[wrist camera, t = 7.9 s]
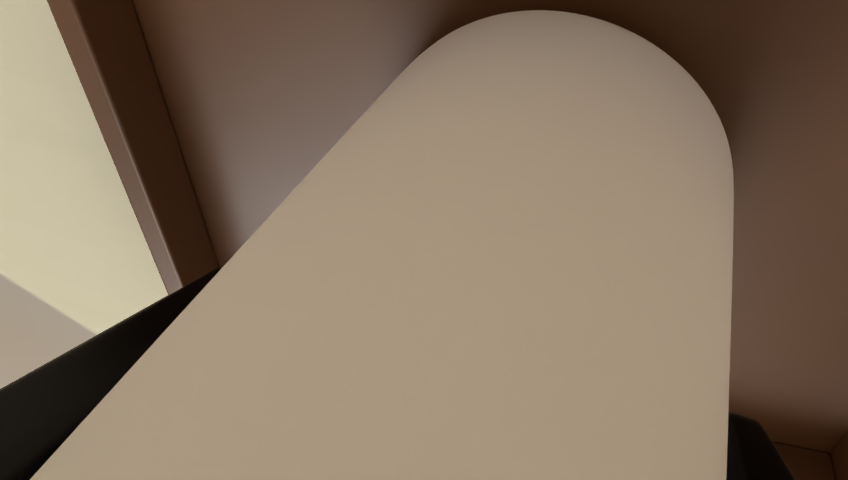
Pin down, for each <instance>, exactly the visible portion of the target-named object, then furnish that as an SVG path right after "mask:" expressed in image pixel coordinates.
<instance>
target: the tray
mask: <svg viewBox="0 0 848 480" xmlns="http://www.w3.org/2000/svg"><path fill="white" fill-rule="evenodd" d="M47 2H48V4H49V7H50V9H51V11H52V14H53V16H54V19H55V21H56V23H57V26H58V28H59V31H60V33H61V36H62V38H63V40H64V43H65V45H66V48H67V50H68V53H69V55H70V57H71V60H72V62H73V65H74V67H75V69H76V72H77V74H78V77H79V79H80V82H81V84H82V86H83V89H84V91H85V94H86V96H87V99H88V101H89V103H90V106H91V108H92V111H93V113H94V115H95V118H96V120H97V123H98V125H99V128H100V130H101V132H102V135H103V137H104V140H105V142H106V145H107V147H108V149H109V152H110V154H111V157H112V159H113V161H114V164H115V166H116V169H117V171H118V174H119V176H120V178H121V181H122V183H123V186H124V188H125V191H126V193H127V195H128V198H129V200H130V203H131V205H132V208H133V210H134V212H135V215H136V217H137V220H138V222H139V224H140V227H141V229H142V232H143V234H144V237H145V239H146V241H147V244H148V246H149V249H150V251H151V254H152V256H153V258H154V261H155V263H156V266H157V268H158V270H159V273H160V275H161V278H162V280H163V283H164V285H165V287H166V290H167V292H168V295H170V294H171V293H173V292H175V291H177V290H179V289H180V288H182V287H184V286H186V285H188V284H189V283H191V282H193V281H195V280H196V279H198V278H200V277H202V276H204V275H205V274H207V273H209V272H211V271H213V270H214V269H216V268H219V267H223V266H224V265H225V264H226V263H227V262H228V261H229V260H230V259H231V258H232V256H233V255H234V254H235V253H236V252H237V251H238V250H239V249H240V248H241V247H242V245H243V244H244V243H245V242H246V241H247V240H248V239H249V238H250V237H251V236H252V234H253V233H254V232H255V231H256V230H257V229H258V228H259V227H260V226H261V225H262V224H263V222H264V221H265V220H266V219H267V218H268V217H269V216H270V215H271V214H272V213H273V211H274V210H275V209H276V208H277V207H278V206H279V205H280V204H281V203H282V202H283V201H284V199H285V198H286V197H287V196H288V195H289V194H290V193H291V192H292V191H293V190H294V189H295V187H296V186H297V185H298V184H299V183H300V182H301V181H302V180H303V179H304V178H305V177H306V175H307V174H308V173H309V172H310V171H311V170H312V169H313V168H314V167H315V166H316V165H317V163H318V162H319V161H320V160H321V159H322V158H323V157H324V156H325V155H326V154H327V153H328V151H329V150H330V149H331V148H332V147H333V146H334V145H335V144H336V143H337V142H338V141H339V139H340V138H341V137H342V136H343V135H344V134H345V133H346V132H347V131H348V130H349V129H350V128H351V126H352V125H353V124H354V123H355V122H356V121H357V120H358V119H359V118H360V117H361V116H362V115H363V113H364V112H365V111H366V110H367V109H368V108H369V107H370V106H371V105H372V104H373V103H374V102H375V100H376V99H377V98H378V97H379V96H380V95H381V94H382V93H383V92H384V91H385V90H386V89H387V88H388V87H389V86H390V84H391V83H392V82H393V81H394V80H395V79H396V78H397V77H398V76H399V75H400V74H401V73H402V72H403V71H404V70H405V69H406V68H407V67H408V66H409V65H410V64H411V63H412V62H413V61H414V60H415V59H416V58H417V57H418V56H419V55H420V54H422V53H423V52H424V51H425V50H426V49H428V48H429V47H430V46H432V45H433V44H434V43H436V42H437V41H438V40H440V39H441V38H443V37H444V36H446V35H448V34H449V33H451V32H453V31H455V30H456V29H458V28H460V27H462V26H465V25H467V24H469V23H472V22H474V21H477V20H480V19H483V18H486V17H490V16H494V15H498V14H503V13H509V12H517V11H529V10H549V11H562V12H569V13H575V14H580V15H585V16H589V17H593V18H597V19H600V20H603V21H606V22H609V23H612V24H615V25H617V26H620V27H622V28H624V29H626V30H629V31H631V32H633V33H635V34H637V35H639V36H640V37H642V38H644V39H646V40H647V41H649V42H651V43H652V44H654V45H655V46H657V47H658V48H660V49H661V50H662V51H664V52H665V53H666V54H668V55H669V56H670V57H672V58H673V59H674V60H675V61H676V62H677V63H678V64H680V65H681V66H682V67H683V68H684V69H685V70H686V71H687V72H688V73H689V74H690V75H691V76H692V78H693V79H694V80H695V81H696V82H697V83H698V85H699V86H700V87H701V88H702V90H703V91H704V93H705V94H706V95H707V97H708V98H709V100H710V102H711V103H712V105H713V107H714V108H715V110H716V112H717V114H718V116H719V118H720V120H721V123H722V125H723V128H724V130H725V133H726V136H727V139H728V143H729V147H730V152H731V158H732V166H733V178H734V219H733V268H732V308H731V343H730V377H729V411H730V412H733V413H737V414H740V415H744V416H747V417H751V418H753V419H755V420H757V421H758V422H759V423H760V424H761V426H762V427H763V429H764V430H765V432H766V433H767V435H768V437H769V438H770V440H771V441H772V443H773V445H774V446H775V448H776V449H777V451H778V453H779V454H780V456H781V457H782V459H783V461H784V462H785V464H786V465H787V467H788V469H789V470H790V472H791V473H792V475H793V477H794V478H795V480H848V0H47Z"/></svg>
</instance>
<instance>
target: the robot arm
mask: <svg viewBox="0 0 848 480" xmlns="http://www.w3.org/2000/svg"><path fill="white" fill-rule="evenodd" d="M221 268H222V267H219V268H216V269H214V270H213V271H211V272H209V273H207V274H205V275H204V276H202V277H200V278H198V279H196V280H195V281H193V282H191V283H189V284H188V285H186V286H184V287H182V288H180V289H179V290H177V291H175V292H173V293H171V294H170V295H168V296H166V297H164V298H162V299H161V300H159V301H157V302H155V303H154V304H152V305H150V306H148V307H146V308H145V309H143V310H141V311H139V312H137V313H136V314H134V315H132V316H130V317H128V318H127V319H125V320H123V321H121V322H120V323H118V324H116V325H114V326H112V327H111V328H109V329H107V330H105V331H103V332H102V333H100V334H98V335H96V336H94V337H93V338H91V339H89V340H87V341H86V342H84V343H82V344H80V345H78V346H77V347H75V348H73V349H71V350H70V351H68V352H66V353H64V354H63V355H61V356H59V357H57V358H55V359H53V360H52V361H50V362H48V363H46V364H44V365H43V366H41V367H39V368H37V369H35V370H34V371H32V372H30V373H28V374H27V375H25V376H23V377H21V378H19V379H18V380H16V381H14V382H12V383H10V384H9V385H7V386H5V387H3V388H1V389H0V480H30V479H31V478H32V477H33V476H34V474H35V473H36V472H37V471H38V470H39V469H40V468H41V467H42V466H43V464H44V463H45V462H46V461H47V460H48V459H49V458H50V457H51V456H52V455H53V453H54V452H55V451H56V450H57V449H58V448H59V447H60V446H61V445H62V443H63V442H64V441H65V440H66V439H67V438H68V437H69V436H70V435H71V434H72V432H73V431H74V430H75V429H76V428H77V427H78V426H79V425H80V424H81V423H82V421H83V420H84V419H85V418H86V417H87V416H88V415H89V414H90V413H91V412H92V410H93V409H94V408H95V407H96V406H97V405H98V404H99V403H100V402H101V400H102V399H103V398H104V397H105V396H106V395H107V394H108V393H109V392H110V391H111V389H112V388H113V387H114V386H115V385H116V384H117V383H118V382H119V381H120V380H121V378H122V377H123V376H124V375H125V374H126V373H127V372H128V371H129V370H130V369H131V367H132V366H133V365H134V364H135V363H136V362H137V361H138V360H139V359H140V357H141V356H142V355H143V354H144V353H145V352H146V351H147V350H148V349H149V348H150V346H151V345H152V344H153V343H154V342H155V341H156V340H157V339H158V338H159V337H160V335H161V334H162V333H163V332H164V331H165V330H166V329H167V328H168V327H169V326H170V324H171V323H172V322H173V321H174V320H175V319H176V318H177V317H178V316H179V315H180V313H181V312H182V311H183V310H184V309H185V308H186V307H187V306H188V305H189V304H190V302H191V301H192V300H193V299H194V298H195V297H196V296H197V295H198V294H199V293H200V292H201V290H202V289H203V288H204V287H205V286H206V285H207V284H208V283H209V282H210V281H211V279H212V278H213V277H214V276H215V275H216V274H217V273H218V272H219V271H220V270H221ZM726 480H795V478H794V477H793V475H792V473H791V472H790V470H789V469H788V467H787V465H786V464H785V462H784V461H783V459H782V457H781V456H780V454H779V453H778V451H777V449H776V448H775V446H774V445H773V443H772V441H771V440H770V438H769V437H768V435H767V433H766V432H765V430H764V429H763V427H762V426H761V424H760V423H759V422H758V421H757V420H755V419H753V418H751V417H747V416H744V415H740V414H737V413H733V412H730V411H728V444H727V476H726Z"/></svg>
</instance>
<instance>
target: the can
mask: <svg viewBox="0 0 848 480" xmlns="http://www.w3.org/2000/svg"><path fill="white" fill-rule="evenodd" d="M733 219H734V178H733V166H732V158H731V152H730V147H729V143H728V139H727V136H726V133H725V130H724V128H723V125H722V123H721V120H720V118H719V116H718V114H717V112H716V110H715V108H714V107H713V105H712V103H711V102H710V100H709V98H708V97H707V95H706V94H705V93H704V91H703V90H702V88H701V87H700V86H699V85H698V83H697V82H696V81H695V80H694V79H693V78H692V76H691V75H690V74H689V73H688V72H687V71H686V70H685V69H684V68H683V67H682V66H681V65H680V64H678V63H677V62H676V61H675V60H674V59H673V58H672V57H670V56H669V55H668V54H666V53H665V52H664V51H662V50H661V49H660V48H658V47H657V46H655V45H654V44H652V43H651V42H649V41H647V40H646V39H644V38H642V37H640V36H639V35H637V34H635V33H633V32H631V31H629V30H626V29H624V28H622V27H620V26H617V25H615V24H612V23H609V22H606V21H603V20H600V19H597V18H593V17H589V16H585V15H580V14H575V13H569V12H562V11H549V10H529V11H517V12H509V13H503V14H498V15H494V16H490V17H486V18H483V19H480V20H477V21H474V22H472V23H469V24H467V25H465V26H462V27H460V28H458V29H456V30H455V31H453V32H451V33H449V34H448V35H446V36H444V37H443V38H441V39H440V40H438V41H437V42H436V43H434V44H433V45H432V46H430V47H429V48H428V49H426V50H425V51H424V52H423V53H422V54H420V55H419V56H418V57H417V58H416V59H415V60H414V61H413V62H412V63H411V64H410V65H409V66H408V67H407V68H406V69H405V70H404V71H403V72H402V73H401V74H400V75H399V76H398V77H397V78H396V79H395V80H394V81H393V82H392V83H391V84H390V86H389V87H388V88H387V89H386V90H385V91H384V92H383V93H382V94H381V95H380V96H379V97H378V98H377V99H376V100H375V102H374V103H373V104H372V105H371V106H370V107H369V108H368V109H367V110H366V111H365V112H364V113H363V115H362V116H361V117H360V118H359V119H358V120H357V121H356V122H355V123H354V124H353V125H352V126H351V128H350V129H349V130H348V131H347V132H346V133H345V134H344V135H343V136H342V137H341V138H340V139H339V141H338V142H337V143H336V144H335V145H334V146H333V147H332V148H331V149H330V150H329V151H328V153H327V154H326V155H325V156H324V157H323V158H322V159H321V160H320V161H319V162H318V163H317V165H316V166H315V167H314V168H313V169H312V170H311V171H310V172H309V173H308V174H307V175H306V177H305V178H304V179H303V180H302V181H301V182H300V183H299V184H298V185H297V186H296V187H295V189H294V190H293V191H292V192H291V193H290V194H289V195H288V196H287V197H286V198H285V199H284V201H283V202H282V203H281V204H280V205H279V206H278V207H277V208H276V209H275V210H274V211H273V213H272V214H271V215H270V216H269V217H268V218H267V219H266V220H265V221H264V222H263V224H262V225H261V226H260V227H259V228H258V229H257V230H256V231H255V232H254V233H253V234H252V236H251V237H250V238H249V239H248V240H247V241H246V242H245V243H244V244H243V245H242V247H241V248H240V249H239V250H238V251H237V252H236V253H235V254H234V255H233V256H232V258H231V259H230V260H229V261H228V262H227V263H226V264H225V265H224V266H223V267H222V268H221V270H220V271H219V272H218V273H217V274H216V275H215V276H214V277H213V278H212V279H211V281H210V282H209V283H208V284H207V285H206V286H205V287H204V288H203V289H202V290H201V292H200V293H199V294H198V295H197V296H196V297H195V298H194V299H193V300H192V301H191V302H190V304H189V305H188V306H187V307H186V308H185V309H184V310H183V311H182V312H181V313H180V315H179V316H178V317H177V318H176V319H175V320H174V321H173V322H172V323H171V324H170V326H169V327H168V328H167V329H166V330H165V331H164V332H163V333H162V334H161V335H160V337H159V338H158V339H157V340H156V341H155V342H154V343H153V344H152V345H151V346H150V348H149V349H148V350H147V351H146V352H145V353H144V354H143V355H142V356H141V357H140V359H139V360H138V361H137V362H136V363H135V364H134V365H133V366H132V367H131V369H130V370H129V371H128V372H127V373H126V374H125V375H124V376H123V377H122V378H121V380H120V381H119V382H118V383H117V384H116V385H115V386H114V387H113V388H112V389H111V391H110V392H109V393H108V394H107V395H106V396H105V397H104V398H103V399H102V400H101V402H100V403H99V404H98V405H97V406H96V407H95V408H94V409H93V410H92V412H91V413H90V414H89V415H88V416H87V417H86V418H85V419H84V420H83V421H82V423H81V424H80V425H79V426H78V427H77V428H76V429H75V430H74V431H73V432H72V434H71V435H70V436H69V437H68V438H67V439H66V440H65V441H64V442H63V443H62V445H61V446H60V447H59V448H58V449H57V450H56V451H55V452H54V453H53V455H52V456H51V457H50V458H49V459H48V460H47V461H46V462H45V463H44V464H43V466H42V467H41V468H40V469H39V470H38V471H37V472H36V473H35V474H34V476H33V477H32V478H31V479H30V480H726V476H727V444H728V411H729V377H730V343H731V308H732V268H733Z"/></svg>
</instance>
